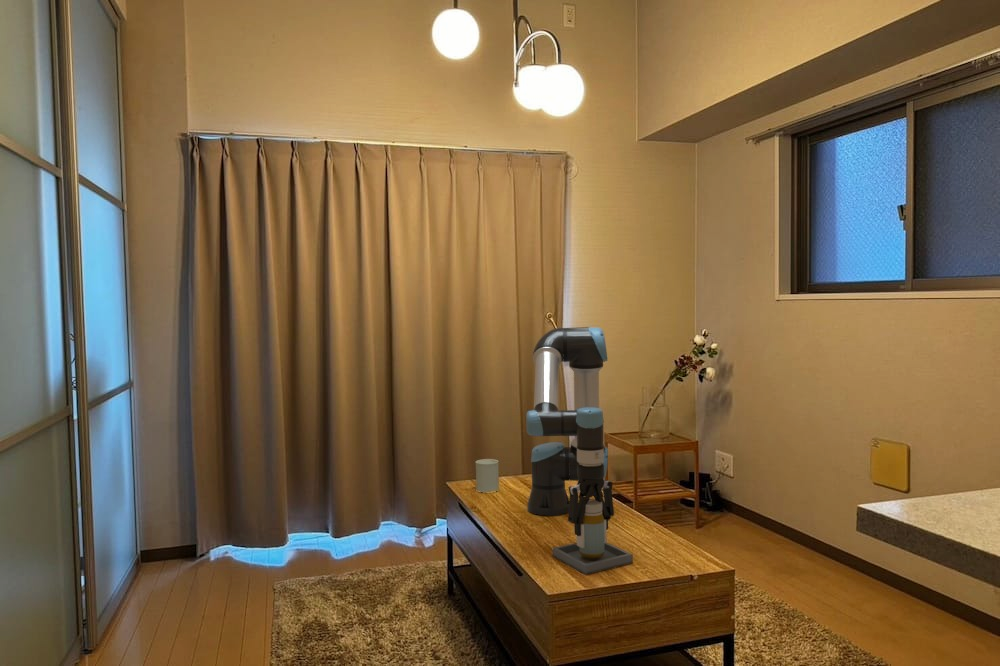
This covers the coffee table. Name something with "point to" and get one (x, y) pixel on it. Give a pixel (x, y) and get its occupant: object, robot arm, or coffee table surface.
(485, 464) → the can
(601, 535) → the bottle
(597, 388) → the robot arm
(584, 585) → the coffee table surface
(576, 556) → the tray
